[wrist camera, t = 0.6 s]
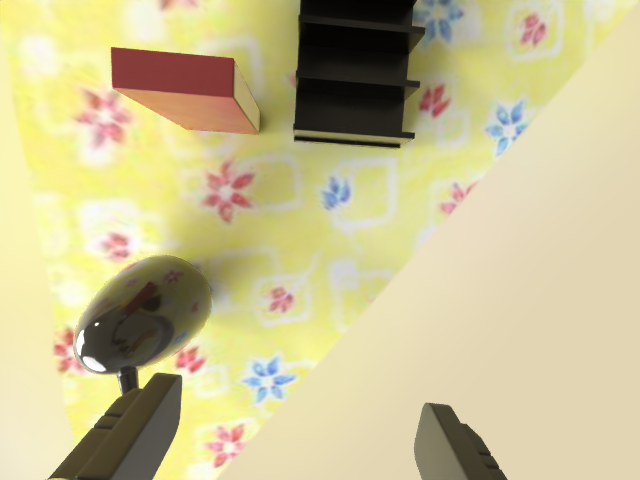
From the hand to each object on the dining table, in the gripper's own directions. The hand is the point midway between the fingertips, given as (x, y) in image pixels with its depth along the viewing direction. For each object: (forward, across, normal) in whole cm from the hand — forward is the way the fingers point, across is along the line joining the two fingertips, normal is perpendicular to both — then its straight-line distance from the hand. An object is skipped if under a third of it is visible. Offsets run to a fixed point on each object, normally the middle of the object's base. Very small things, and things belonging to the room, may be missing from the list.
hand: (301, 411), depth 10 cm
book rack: (+29, -2, -19) cm, 35 cm away
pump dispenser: (+27, +15, +8) cm, 32 cm away
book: (+28, +11, -12) cm, 33 cm away
